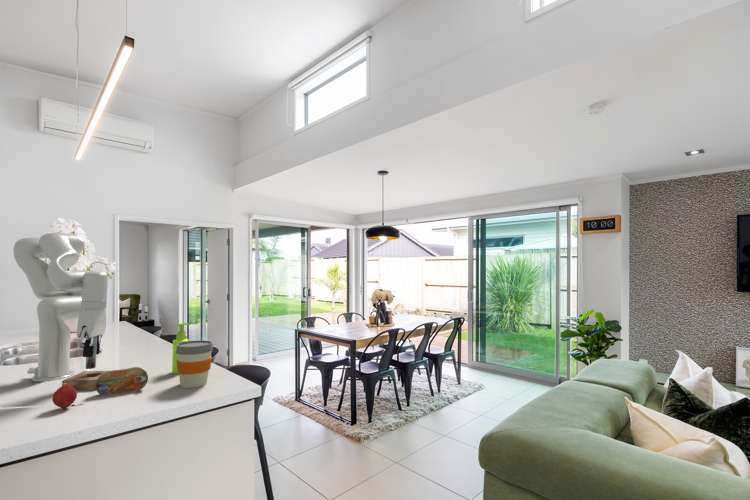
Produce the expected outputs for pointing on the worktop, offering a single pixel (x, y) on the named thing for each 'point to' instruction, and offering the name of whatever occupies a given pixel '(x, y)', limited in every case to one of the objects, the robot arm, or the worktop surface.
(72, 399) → the onion
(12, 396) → the worktop surface
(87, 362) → the metal rod
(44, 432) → the worktop surface
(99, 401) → the worktop surface
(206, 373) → the reusable coffee cup
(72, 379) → the rod stand
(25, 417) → the worktop surface
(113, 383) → the tin
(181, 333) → the soap dispenser
